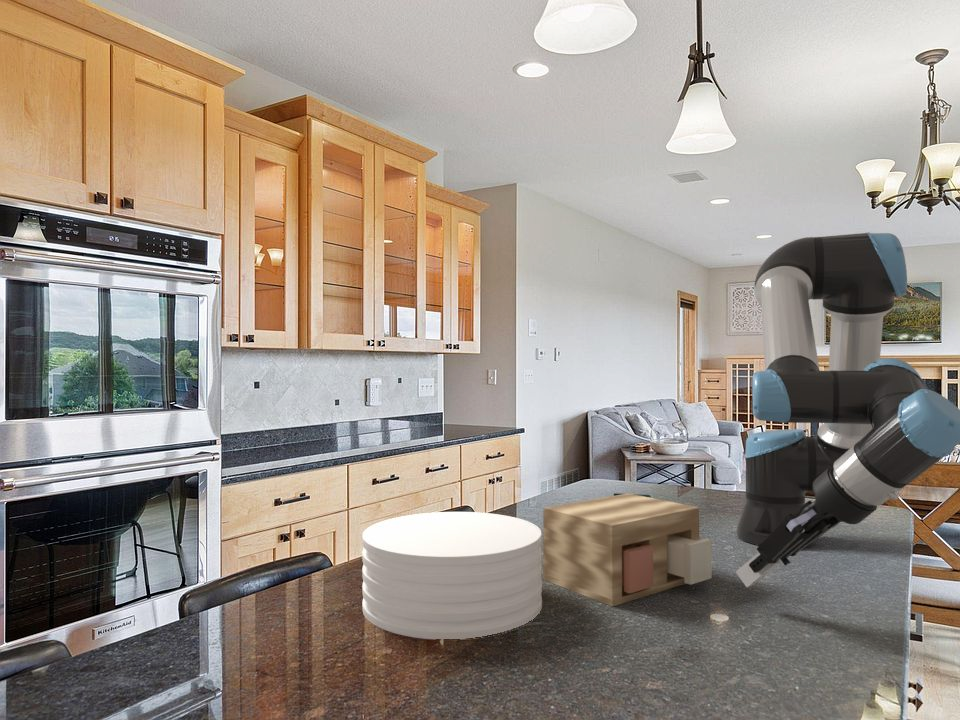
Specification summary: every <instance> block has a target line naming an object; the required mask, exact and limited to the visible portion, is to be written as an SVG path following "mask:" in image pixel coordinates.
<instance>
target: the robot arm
mask: <svg viewBox="0 0 960 720" xmlns="http://www.w3.org/2000/svg"><path fill="white" fill-rule="evenodd" d="M906 262H907V261H906V258H905V251H904V249H903V246H902V243H901V240H900V238H899V237H897V236H896V235H895V234H894V233H889V232H886V233H885V232H881V233H879V232H877V233H876V232H872V233H871V232H870V231H869V232H864V233H863V232H862V233H861V232H860V233H851V234H840V235H839V234H838V235H826V236H815V237H814V236H809V237H807V236H806V237H802V238H798V239H794V240H792V241H790V242H787V243H785V244H783V245H782V246H780V247H779V248H777V249H776V250H775V251H774V252H772V253H771V254H770V255H768V257H767V258H766V259H765V260H764V261H763V262H762V265H761V266H760V267H759V269H758V271H757V274H756V277H755V280H754V295H755V299H756V301H757V303H758V304H759V305H760V306H761V319H762V321H761V322H762V338H763V339H762V341H763V358H764V359H763V360H764V362H763V363H764V370H758V371H755V372H753V374H752V385H751V388H752V391H751V392H752V415H753V416H754V418H755V419H756V420H758V421H764V422H765V421H766V422H777V423H779V424H780V423H781V424H789V423H790V424H791V423H793V424H795V423H797V424H799V423H800V424H802V423H803V424H821V425H820V426H819V427H818V429H817V433H816V434H817V436H806V435H807V434H806V432H805V430H803V429H799V428H795V429H793V428H792V429H789V428H788V429H776V430H774V429H773V430H766V431H760V432H755V433H752V434H750V435H749V436H748V437H747V438H746V441H745V454H744V458H745V502H744V506H743V508H742V510H741V511H742V512H741V513H740V517H739V520H738V523H737V525H736V533H737V534H736V536H737V538H738V537H739V538H738V539H739V540H741V539H742V540H741V541H743V542H746V543H748V544H752V545H757V548H756V550H757V553H756V554H755V555H753V556H752V557H751V558H750V559H749V560H747V561H746V562H745V563H744V564H743V565H741V566H740V567H739V568H738V569H737V570H736V571H735V573H736V575H737V576H738V578H739V579H740V580H741V582H742V583H743V585H744V586H745V587H746V588H749V587H753V586H754V585H755V584H757V582H759V581H760V580H761V579H762V578H763V577H765V576H767V574H769V573H770V572H771V571H772V570H774V569H775V568H776V567H777V566H778V565H780V564H781V562H782V563H783V565H784V566H788V565H790V563H791V561H790V560H789V559H788V558H789V557H794V556H796V555H797V554H798V553H799V552H801V551H802V550H803V549H805V548H810V547H812V546H814V545H815V541H816V540H817V539H818V538H820V537H821V536H823V535H824V534H825V533H827V532H829V530H831V529H833V528H835V527H836V526H837V525H838V524H840V523H845V524H847V525H848V524H849V525H857V524H860V523H861V522H862V521H864V520H865V519H866V518H868V517H869V516H870V515H872V514H873V513H874V512H875V511H876V510H877V508H878V507H879V506H882V505H883V504H884V503H886V502H887V501H888V500H889V499H890V500H892V501H897V500H898V499H899V498H900V495H899V494H898V493H897V492H898V491H899V492H900V491H901V490H902V489H904V488H905V487H906V486H907V485H909V484H910V483H912V482H913V481H915V480H916V479H917V478H918V477H920V476H921V475H922V474H923V473H925V472H926V471H928V469H930V468H932V467H933V466H934V465H935V464H937V463H938V462H939V461H940V460H942V459H943V458H945V457H946V456H949V455H950V454H951V453H952V452H953V451H954V449H955V447H957V446H958V445H959V444H960V409H959V408H958V407H957V405H955V404H954V403H953V402H951V400H949V399H948V398H947V397H945V396H943V395H941V394H940V393H938V392H936V391H934V390H931V389H928V388H927V386H926V383H925V381H924V380H923V378H922V377H921V376H920V373H919V372H918V371H917V370H916V368H914V367H913V366H912V365H911V364H910V363H908V362H907V361H904V360H902V359H899V358H895V357H894V358H892V357H891V358H889V357H887V358H881V353H882V352H881V349H882V338H883V337H882V336H883V325H884V316H885V315H886V314H888V313H890V312H891V311H892V310H893V309H894V306H895V305H894V304H895V298H897V299H899V298H900V297H901V298H902V297H904V296H905V295H906V293H907V289H908V273H907V272H908V270H907V264H906ZM810 300H822V308H823V310H825V311H826V312H827V313H829V315H830V319H831V320H830V337H829V355H828V356H829V359H828V370H820V365H819V364H820V363H819V358H818V353H817V352H818V351H817V344H816V340H815V335H814V334H815V333H814V327H813V321H812V314H811V306H810V303H809V302H810ZM806 493H813V494H814V497H815V498H814V499H815V500H814V501H813V502H812V500H808V501H807V502H806ZM780 561H781V562H780Z"/></svg>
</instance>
